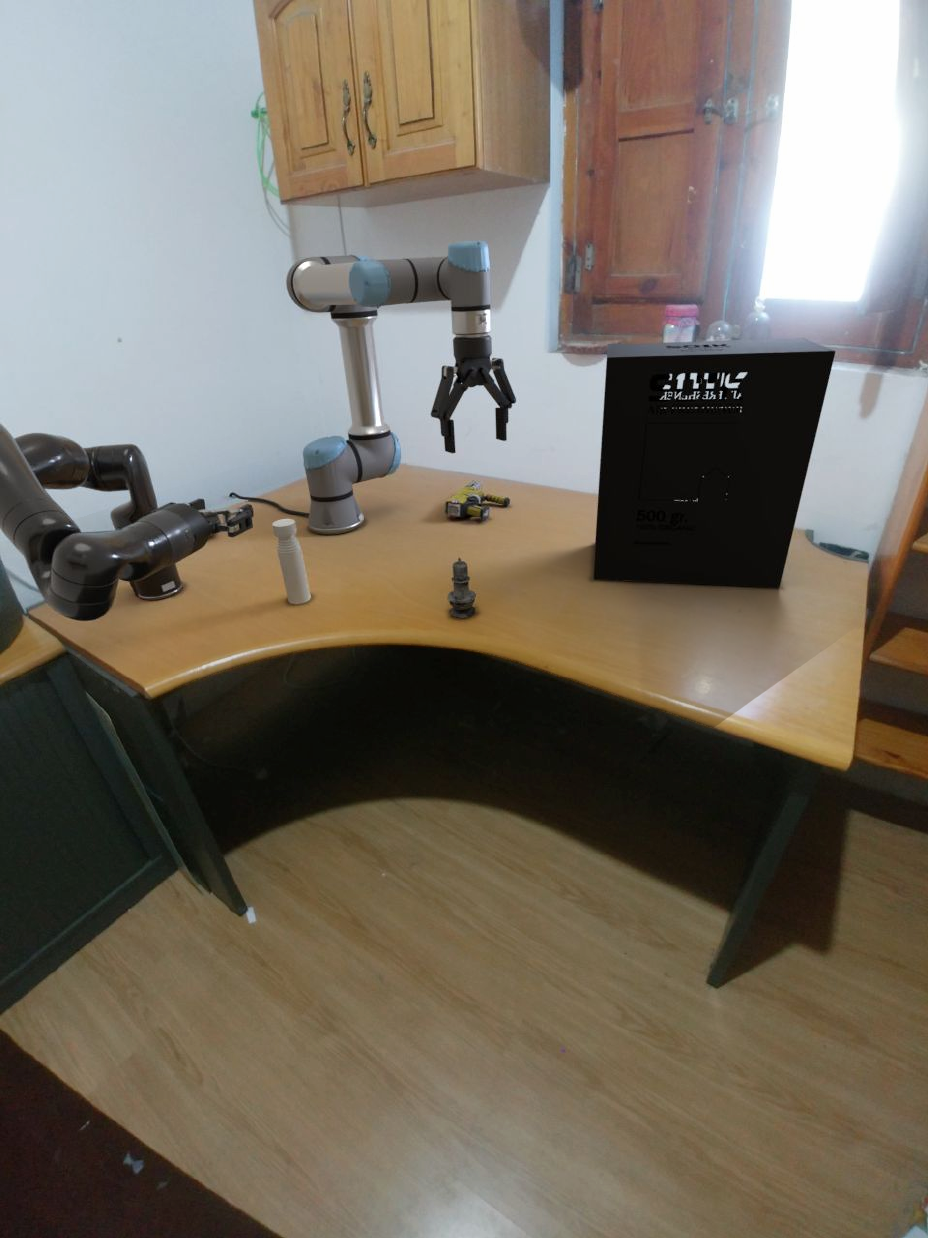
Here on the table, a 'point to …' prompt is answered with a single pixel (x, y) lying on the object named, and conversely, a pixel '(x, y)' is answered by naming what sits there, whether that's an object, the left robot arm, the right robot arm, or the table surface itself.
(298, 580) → the bottle
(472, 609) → the grey chess piece
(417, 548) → the table surface
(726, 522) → the cardboard box
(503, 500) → the toy gun
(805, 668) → the table surface
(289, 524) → the cap
